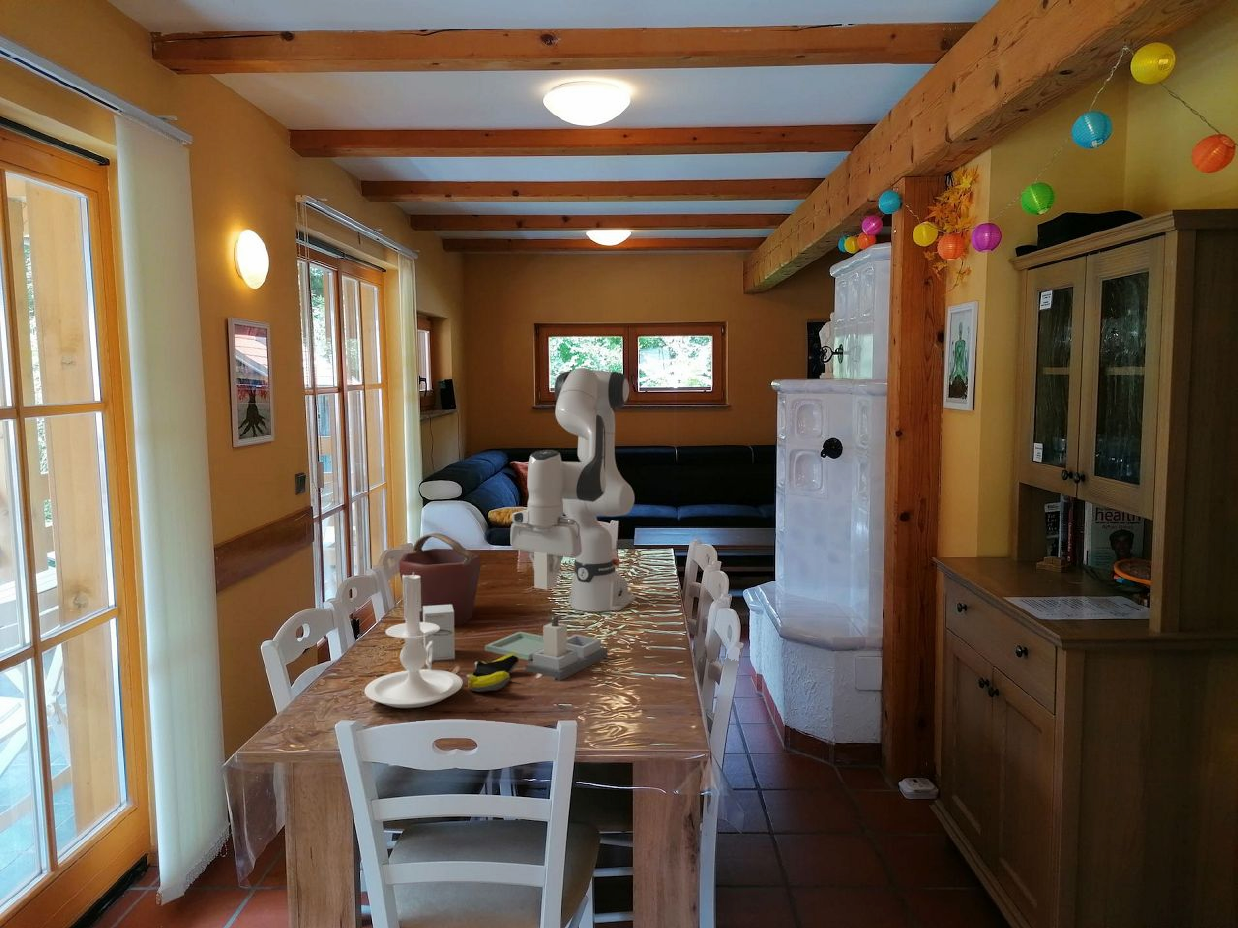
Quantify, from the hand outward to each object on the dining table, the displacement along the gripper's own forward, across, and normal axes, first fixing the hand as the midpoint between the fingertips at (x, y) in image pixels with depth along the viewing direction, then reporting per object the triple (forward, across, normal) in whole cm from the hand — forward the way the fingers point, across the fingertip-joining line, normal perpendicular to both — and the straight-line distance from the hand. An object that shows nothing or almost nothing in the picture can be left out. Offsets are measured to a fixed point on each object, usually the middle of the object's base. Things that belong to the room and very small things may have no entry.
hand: (545, 570), depth 209 cm
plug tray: (+21, +7, +1) cm, 22 cm away
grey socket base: (+21, -9, +3) cm, 23 cm away
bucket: (+22, +44, -6) cm, 49 cm away
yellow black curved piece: (+22, -3, +24) cm, 32 cm away
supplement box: (+22, +20, +17) cm, 34 cm away
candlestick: (+22, +6, +38) cm, 44 cm away
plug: (+4, 0, 0) cm, 4 cm away
